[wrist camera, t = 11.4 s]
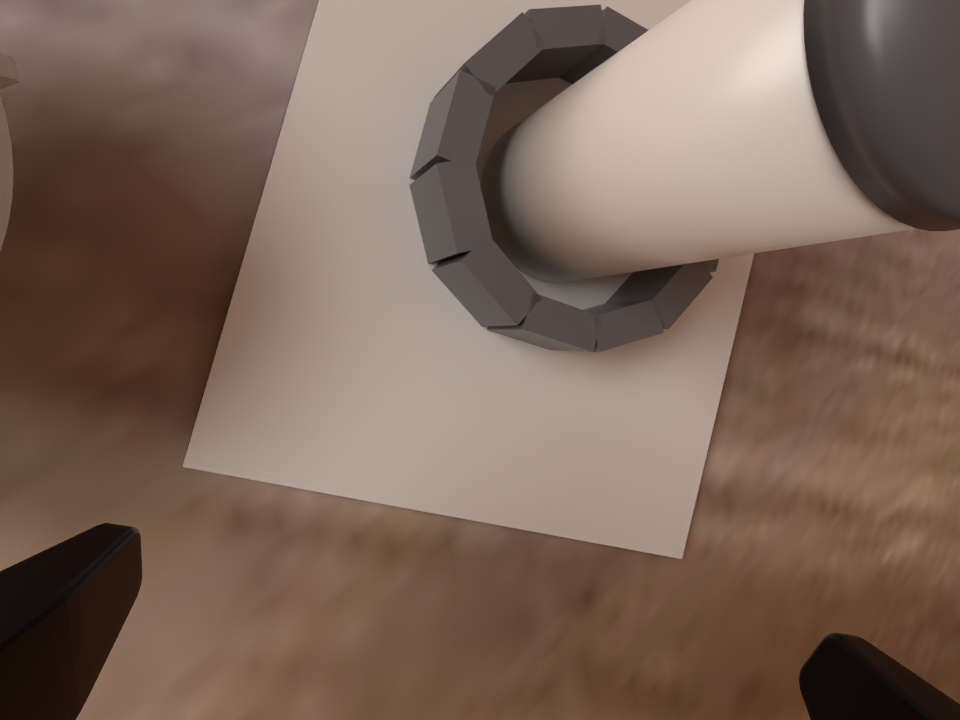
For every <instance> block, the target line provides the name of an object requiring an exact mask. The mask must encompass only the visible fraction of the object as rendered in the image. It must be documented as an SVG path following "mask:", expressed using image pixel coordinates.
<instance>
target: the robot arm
mask: <svg viewBox="0 0 960 720" xmlns="http://www.w3.org/2000/svg"><path fill="white" fill-rule="evenodd" d="M141 581H142V557H141V537H140V533H139V530H137V529H136V528H135V527H130V526H123V525H116V524H110V523H103V524H100V525H97V526H95V527H93V528H91V529H89V530H87V531H84V532H82V533H80V534H78V535H76V536H74V537H72V538H70V539H68V540H65V541H63V542H61V543H59V544H57V545H55V546H53V547H51V548H49V549H47V550H44V551H42V552H40V553H38V554H36V555H34V556H32V557H30V558H28V559H25V560H23V561H21V562H19V563H17V564H15V565H13V566H11V567H9V568H6V569H4V570H2V571H0V720H76V718H77V717H78V715H79V713H80V712H81V710H82V708H83V706H84V704H85V702H86V700H87V698H88V696H89V694H90V692H91V690H92V688H93V686H94V684H95V682H96V680H97V678H98V676H99V674H100V672H101V670H102V668H103V666H104V664H105V661H106V659H107V657H108V655H109V653H110V651H111V649H112V647H113V645H114V643H115V641H116V639H117V637H118V635H119V633H120V631H121V629H122V627H123V625H124V623H125V620H126V618H127V616H128V614H129V612H130V610H131V608H132V606H133V604H134V602H135V600H136V598H137V595H138V592H139V590H140V586H141ZM799 684H800V690H801V693H802V696H803V699H804V702H805V705H806V708H807V710H808V713H809V716H810V719H811V720H960V704H959V703H957V702H956V701H954V700H953V699H951V698H950V697H948V696H947V695H945V694H944V693H942V692H941V691H939V690H938V689H937V688H935V687H934V686H932V685H931V684H929V683H928V682H926V681H925V680H923V679H922V678H920V677H919V676H917V675H916V674H914V673H913V672H912V671H910V670H909V669H907V668H906V667H904V666H903V665H901V664H900V663H898V662H897V661H895V660H894V659H892V658H891V657H890V656H888V655H887V654H885V653H884V652H882V651H881V650H879V649H878V648H876V647H875V646H873V645H872V644H870V643H869V642H867V641H866V640H864V639H862V638H860V637H858V636H854V635H848V634H841V633H830V634H828V635H826V636H825V637H824V638H823V640H822V641H821V642H820V644H819V645H818V646H817V648H816V649H815V650H814V652H813V653H812V654H811V656H810V657H809V658H808V660H807V661H806V662H805V664H804V665H803V667H802V668H801V671H800V676H799Z"/></svg>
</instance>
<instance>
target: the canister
mask: <svg viewBox="0 0 960 720" xmlns="http://www.w3.org/2000/svg"><path fill="white" fill-rule="evenodd" d="M481 191H482V195H483V200H484V204H485V209H486V213H487V218H488V222H489V227H490V231H491V236H492V239H493V241H494V242H495V243H496V244H497V245H498V247H499V248H500V249H501V250H502V251H503V253H504V254H505V255H506V256H507V257H508V259H509V260H510V261H511V262H512V263H513V265H514V266H515V267H516V268H517V269H518V270H520V271H522V272H523V273H525V274H527V275H528V276H531V277H533V278H535V279H538V280H542V281H546V282H554V283H561V282H571V281H577V280H584V279H590V278H597V277H603V276H610V275H616V274H623V273H629V272H636V271H642V270H649V269H656V268H662V267H669V266H675V265H682V264H688V263H695V262H701V261H708V260H714V259H721V258H727V257H734V256H741V255H747V254H754V253H760V252H767V251H773V250H780V249H786V248H793V247H799V246H806V245H812V244H819V243H826V242H832V241H839V240H845V239H852V238H858V237H865V236H871V235H878V234H884V233H891V232H897V231H904V230H911V229H922V230H927V231H949V230H956V229H960V0H691V1H689V2H688V3H686V4H685V5H684V6H682V7H681V8H679V9H678V10H677V11H675V12H674V13H672V14H671V15H670V16H668V17H667V18H665V19H664V20H663V21H661V22H660V23H658V24H657V25H656V26H654V27H653V28H651V29H650V30H648V31H647V32H646V33H644V34H643V35H641V36H640V37H639V38H637V39H636V40H634V41H633V42H632V43H630V44H629V45H627V46H626V47H625V48H623V49H622V50H620V51H619V52H617V53H616V54H615V55H613V56H612V57H610V58H609V59H608V60H606V61H605V62H603V63H602V64H601V65H599V66H598V67H596V68H595V69H594V70H592V71H591V72H589V73H588V74H586V75H585V76H584V77H582V78H581V79H579V80H578V81H577V82H575V83H574V84H572V85H571V86H570V87H568V88H567V89H565V90H564V91H563V92H561V93H560V94H558V95H557V96H555V97H554V98H553V99H551V100H550V101H548V102H547V103H546V104H544V105H543V106H541V107H540V108H539V109H537V110H536V111H534V112H533V113H532V114H530V115H529V116H527V117H526V118H524V119H523V120H522V121H520V122H519V123H517V124H516V125H515V126H513V127H512V128H511V129H509V130H508V131H507V132H506V133H505V134H503V136H502V137H501V138H500V139H499V140H498V141H497V142H496V144H495V146H494V147H493V149H492V150H491V152H490V154H489V156H488V158H487V160H486V164H485V167H484V170H483V174H482V180H481Z"/></svg>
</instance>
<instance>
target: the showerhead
mask: <svg viewBox="0 0 960 720" xmlns="http://www.w3.org/2000/svg"><path fill="white" fill-rule="evenodd" d="M18 82H19V80H18V76H17V71H16V67H15V63H14V59H13V58H12V57H11V56H7V55H4V54H0V88H4V87H7V86H10V85H13V84H16V83H18ZM12 194H13V158H12V144H11V139H10V133H9V128H8V123H7V117H6V113H5V110H4V107H3V103H2V100H1V97H0V252H1V248H2V245H3V241H4V238H5V235H6V231H7V228H8V222H9V216H10V210H11V204H12Z"/></svg>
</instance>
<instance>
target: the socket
mask: <svg viewBox="0 0 960 720" xmlns="http://www.w3.org/2000/svg"><path fill="white" fill-rule="evenodd" d="M689 1H691V0H319V3H318V6H317V9H316V13H315V16H314V20H313V23H312V27H311V30H310V33H309V37H308V40H307V44H306V47H305V50H304V54H303V57H302V61H301V64H300V68H299V71H298V74H297V78H296V81H295V85H294V88H293V91H292V95H291V98H290V102H289V105H288V108H287V112H286V115H285V119H284V122H283V126H282V129H281V132H280V136H279V139H278V143H277V146H276V149H275V153H274V156H273V160H272V163H271V166H270V170H269V173H268V177H267V180H266V184H265V187H264V190H263V194H262V197H261V201H260V204H259V207H258V211H257V214H256V218H255V221H254V224H253V228H252V231H251V235H250V238H249V242H248V245H247V248H246V252H245V255H244V259H243V262H242V265H241V269H240V272H239V276H238V279H237V282H236V286H235V289H234V293H233V296H232V300H231V303H230V306H229V310H228V313H227V317H226V320H225V323H224V327H223V330H222V334H221V337H220V340H219V344H218V347H217V351H216V354H215V358H214V361H213V364H212V368H211V371H210V375H209V378H208V381H207V385H206V388H205V392H204V395H203V398H202V402H201V405H200V409H199V412H198V416H197V419H196V422H195V426H194V429H193V433H192V436H191V439H190V443H189V446H188V450H187V453H186V456H185V460H184V463H183V467H186V468H191V469H197V470H202V471H208V472H213V473H218V474H224V475H229V476H235V477H240V478H245V479H251V480H256V481H262V482H267V483H273V484H278V485H283V486H289V487H294V488H300V489H305V490H310V491H316V492H321V493H327V494H332V495H337V496H343V497H348V498H354V499H359V500H365V501H370V502H375V503H381V504H386V505H392V506H397V507H402V508H408V509H413V510H419V511H424V512H430V513H435V514H440V515H446V516H451V517H457V518H462V519H467V520H473V521H478V522H484V523H489V524H494V525H500V526H505V527H511V528H516V529H522V530H527V531H532V532H538V533H543V534H549V535H554V536H559V537H565V538H570V539H576V540H581V541H587V542H592V543H597V544H603V545H608V546H614V547H619V548H624V549H630V550H635V551H641V552H646V553H651V554H657V555H662V556H668V557H673V558H679V559H682V557H683V553H684V549H685V545H686V540H687V536H688V532H689V528H690V523H691V519H692V515H693V511H694V506H695V502H696V498H697V494H698V490H699V485H700V481H701V477H702V473H703V468H704V464H705V460H706V456H707V451H708V447H709V443H710V439H711V435H712V430H713V426H714V422H715V418H716V413H717V409H718V405H719V401H720V396H721V392H722V388H723V384H724V380H725V375H726V371H727V367H728V363H729V358H730V354H731V350H732V346H733V341H734V337H735V333H736V329H737V325H738V320H739V316H740V312H741V308H742V303H743V299H744V295H745V291H746V286H747V282H748V278H749V274H750V270H751V265H752V261H753V257H754V254H747V255H741V256H734V257H727V258H721V259H714V260H708V261H701V262H695V263H688V264H682V265H675V266H669V267H662V268H656V269H649V270H642V271H636V272H629V273H623V274H616V275H610V276H603V277H597V278H590V279H584V280H577V281H571V282H561V283H554V282H546V281H542V280H538V279H535V278H533V277H531V276H528V275H527V274H525V273H523V272H522V271H520V270H518V269H517V268H516V267H515V266H514V265H513V263H512V262H511V261H510V260H509V259H508V257H507V256H506V255H505V254H504V253H503V251H502V250H501V249H500V248H499V247H498V245H497V244H496V243H495V242H494V241H493V239H492V236H491V231H490V227H489V222H488V218H487V213H486V209H485V204H484V200H483V195H482V191H481V180H482V174H483V170H484V167H485V164H486V160H487V158H488V156H489V154H490V152H491V150H492V149H493V147H494V146H495V144H496V142H497V141H498V140H499V139H500V138H501V137H502V136H503V134H505V133H506V132H507V131H508V130H509V129H511V128H512V127H513V126H515V125H516V124H517V123H519V122H520V121H522V120H523V119H524V118H526V117H527V116H529V115H530V114H532V113H533V112H534V111H536V110H537V109H539V108H540V107H541V106H543V105H544V104H546V103H547V102H548V101H550V100H551V99H553V98H554V97H555V96H557V95H558V94H560V93H561V92H563V91H564V90H565V89H567V88H568V87H570V86H571V85H572V84H574V83H575V82H577V81H578V80H579V79H581V78H582V77H584V76H585V75H586V74H588V73H589V72H591V71H592V70H594V69H595V68H596V67H598V66H599V65H601V64H602V63H603V62H605V61H606V60H608V59H609V58H610V57H612V56H613V55H615V54H616V53H617V52H619V51H620V50H622V49H623V48H625V47H626V46H627V45H629V44H630V43H632V42H633V41H634V40H636V39H637V38H639V37H640V36H641V35H643V34H644V33H646V32H647V31H648V30H650V29H651V28H653V27H654V26H656V25H657V24H658V23H660V22H661V21H663V20H664V19H665V18H667V17H668V16H670V15H671V14H672V13H674V12H675V11H677V10H678V9H679V8H681V7H682V6H684V5H685V4H686V3H688V2H689Z"/></svg>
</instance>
